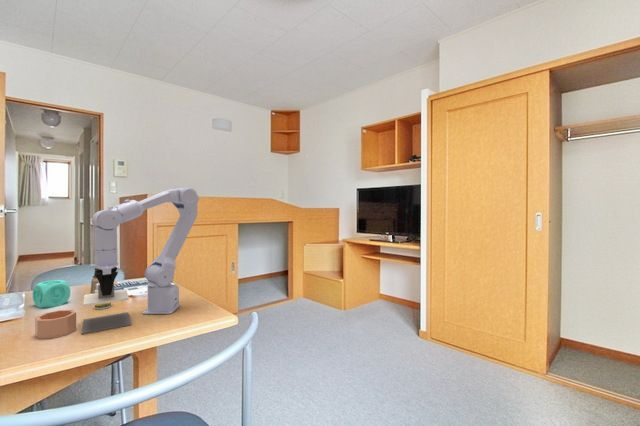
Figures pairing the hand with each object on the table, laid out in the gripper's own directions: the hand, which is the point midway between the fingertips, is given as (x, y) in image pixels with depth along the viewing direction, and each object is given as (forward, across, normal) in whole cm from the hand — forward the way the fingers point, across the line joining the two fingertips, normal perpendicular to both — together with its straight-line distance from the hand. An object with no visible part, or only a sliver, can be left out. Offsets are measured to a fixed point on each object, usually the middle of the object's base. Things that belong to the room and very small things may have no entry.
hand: (106, 293), depth 96 cm
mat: (+9, 0, 0) cm, 9 cm away
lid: (+2, 0, 0) cm, 2 cm away
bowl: (+9, 0, -12) cm, 15 cm away
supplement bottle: (+10, -18, -1) cm, 20 cm away
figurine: (+10, -37, -1) cm, 38 cm away
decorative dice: (+10, -32, -16) cm, 37 cm away
